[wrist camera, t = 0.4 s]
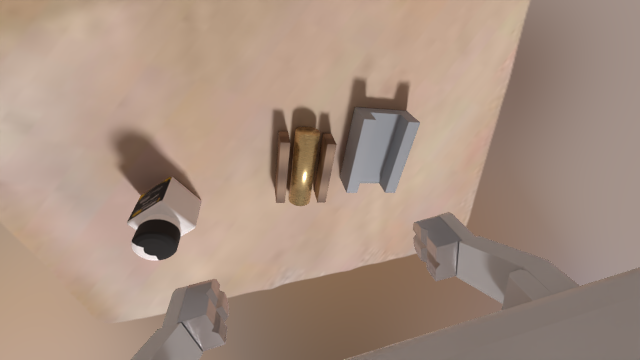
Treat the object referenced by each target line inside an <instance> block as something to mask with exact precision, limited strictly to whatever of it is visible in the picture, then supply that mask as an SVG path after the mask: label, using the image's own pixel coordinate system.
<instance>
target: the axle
mask: <svg viewBox="0 0 640 360" xmlns="http://www.w3.org/2000/svg"><path fill="white" fill-rule="evenodd" d="M319 137H320V131H319V130H317V129H315V128H313V127H298V128H296V131H295V141H294V151H293V161H292V171H291V181H290V191H289V201H290V202H291V203H292V204H294V205H297V206H304V205H307V204H308V203H309V202H310V196H311V189H312V183H313V176H314V170H315V163H316V157H317V150H318V144H319Z"/></svg>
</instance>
